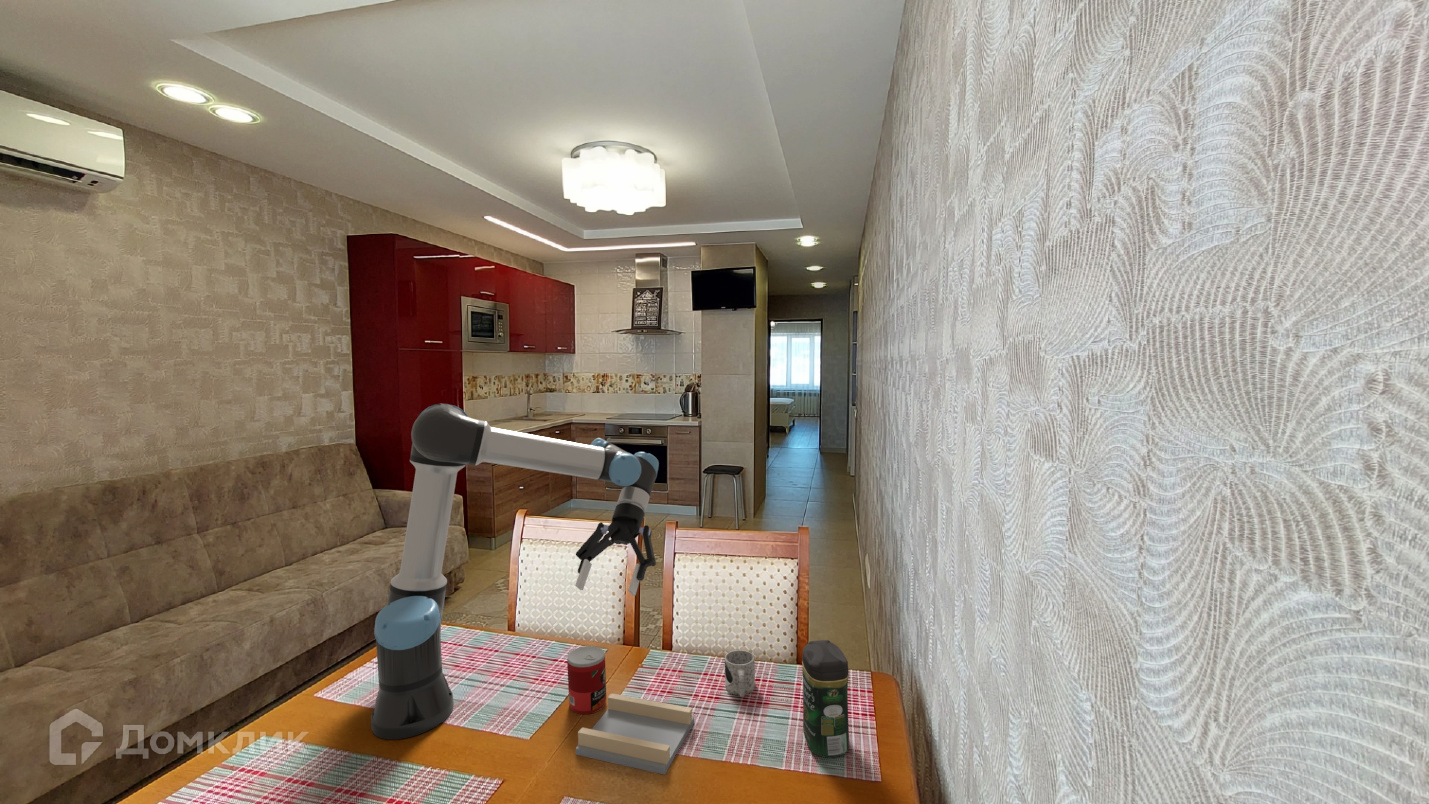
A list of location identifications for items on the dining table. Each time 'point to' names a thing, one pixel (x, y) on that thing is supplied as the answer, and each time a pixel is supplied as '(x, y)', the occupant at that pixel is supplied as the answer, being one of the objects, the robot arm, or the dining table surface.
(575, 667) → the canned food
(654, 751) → the track
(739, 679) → the mug
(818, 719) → the coffee jar
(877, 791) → the dining table surface
